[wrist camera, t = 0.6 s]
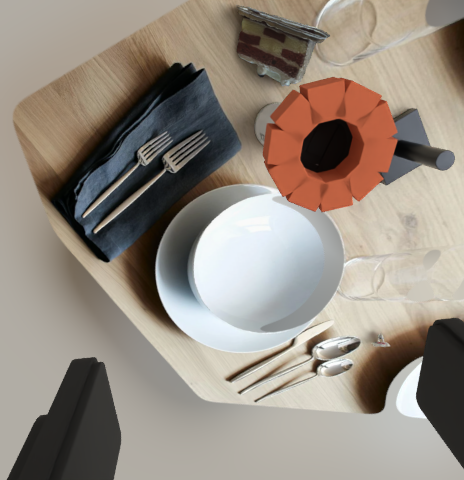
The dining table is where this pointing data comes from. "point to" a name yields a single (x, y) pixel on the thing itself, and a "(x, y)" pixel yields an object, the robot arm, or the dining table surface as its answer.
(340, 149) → the travel mug
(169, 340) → the dining table surface
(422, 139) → the black peg stand
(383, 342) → the figurine
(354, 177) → the ring
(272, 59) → the chocolate cake
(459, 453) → the robot arm
